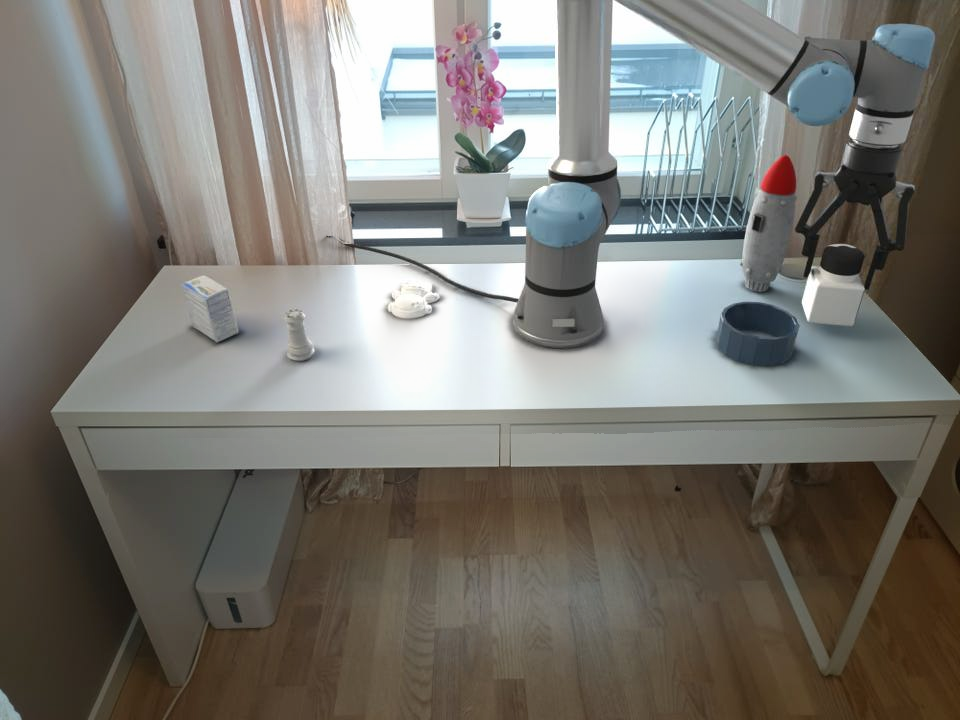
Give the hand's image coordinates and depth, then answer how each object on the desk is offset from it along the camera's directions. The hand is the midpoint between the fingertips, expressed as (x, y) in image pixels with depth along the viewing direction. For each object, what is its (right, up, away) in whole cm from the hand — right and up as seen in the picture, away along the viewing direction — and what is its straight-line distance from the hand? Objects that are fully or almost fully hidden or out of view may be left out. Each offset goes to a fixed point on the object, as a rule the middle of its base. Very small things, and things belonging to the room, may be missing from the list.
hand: (836, 279), depth 120 cm
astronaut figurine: (-70, -3, +15) cm, 72 cm away
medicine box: (-103, -8, +7) cm, 104 cm away
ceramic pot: (-13, -11, +1) cm, 17 cm away
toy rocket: (-7, 0, +18) cm, 19 cm away
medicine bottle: (0, -6, +4) cm, 7 cm away
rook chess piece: (-87, -12, 0) cm, 88 cm away
